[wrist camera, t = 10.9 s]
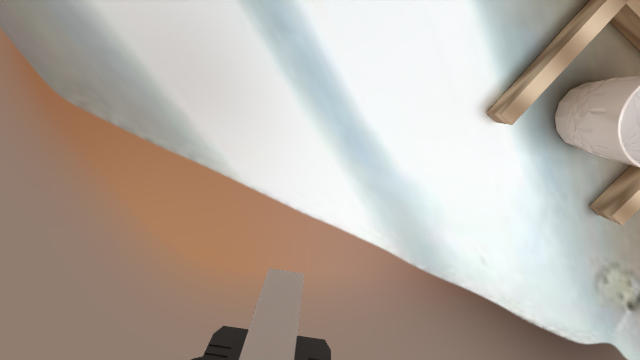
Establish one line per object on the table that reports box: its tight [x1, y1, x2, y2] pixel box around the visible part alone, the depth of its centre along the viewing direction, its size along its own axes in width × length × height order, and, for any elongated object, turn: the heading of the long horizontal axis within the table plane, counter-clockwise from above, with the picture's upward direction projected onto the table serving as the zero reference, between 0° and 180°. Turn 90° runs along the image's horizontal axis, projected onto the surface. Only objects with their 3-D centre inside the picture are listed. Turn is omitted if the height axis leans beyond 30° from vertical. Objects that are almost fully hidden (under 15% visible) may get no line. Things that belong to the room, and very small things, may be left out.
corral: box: [487, 0, 640, 225], centre depth 39 cm, size 16×17×4 cm
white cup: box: [555, 75, 640, 168], centre depth 36 cm, size 8×8×10 cm
